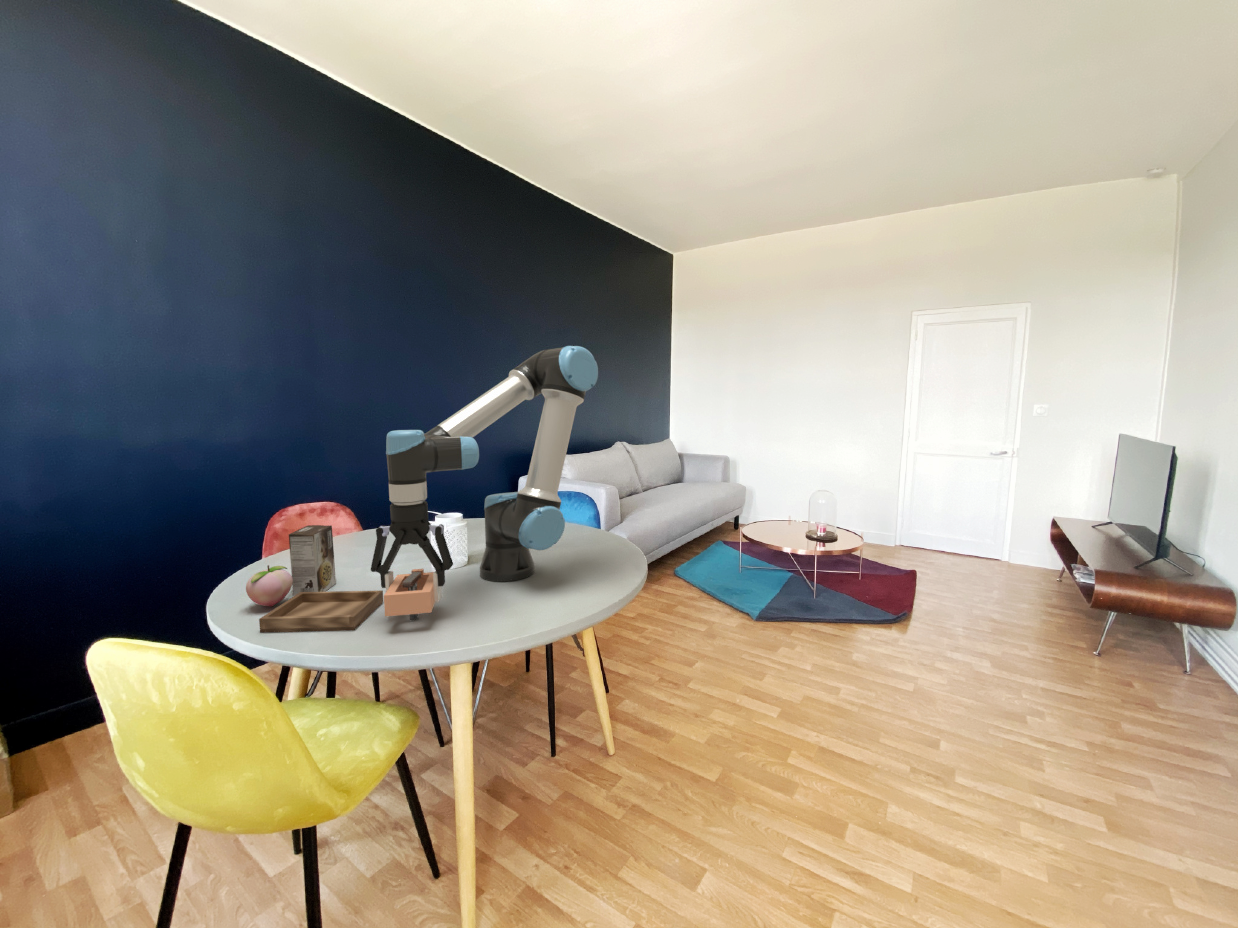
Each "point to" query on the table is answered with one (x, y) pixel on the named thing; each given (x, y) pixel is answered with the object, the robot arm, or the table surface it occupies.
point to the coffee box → (312, 559)
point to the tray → (322, 611)
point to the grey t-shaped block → (412, 588)
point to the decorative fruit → (269, 586)
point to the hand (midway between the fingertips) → (414, 600)
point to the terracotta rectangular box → (410, 596)
